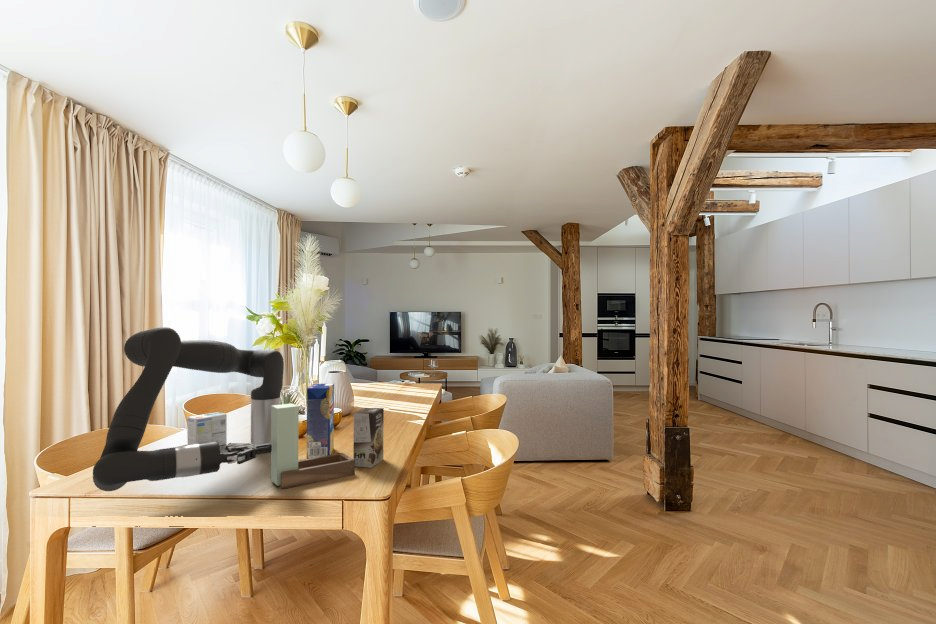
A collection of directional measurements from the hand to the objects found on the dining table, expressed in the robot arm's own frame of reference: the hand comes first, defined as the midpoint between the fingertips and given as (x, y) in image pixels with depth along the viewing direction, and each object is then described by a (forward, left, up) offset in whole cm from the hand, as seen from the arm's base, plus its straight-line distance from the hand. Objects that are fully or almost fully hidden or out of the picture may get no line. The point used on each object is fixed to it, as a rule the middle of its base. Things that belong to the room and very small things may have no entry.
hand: (270, 447), depth 129 cm
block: (0, +4, -10) cm, 11 cm away
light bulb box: (-54, -6, -10) cm, 55 cm away
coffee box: (-3, +30, -10) cm, 31 cm away
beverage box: (-22, +22, -10) cm, 32 cm away
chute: (0, +12, -10) cm, 15 cm away
